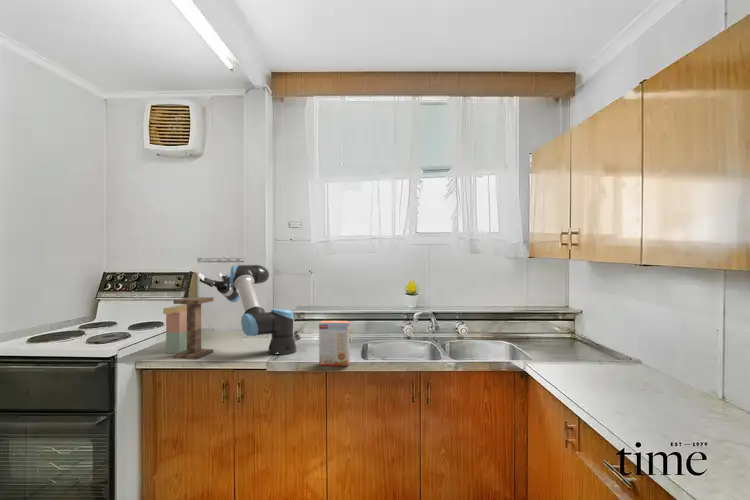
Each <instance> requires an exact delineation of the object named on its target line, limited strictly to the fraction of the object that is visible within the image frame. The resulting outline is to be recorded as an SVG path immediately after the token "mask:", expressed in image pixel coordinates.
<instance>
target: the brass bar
mask: <svg viewBox="0 0 750 500" xmlns="http://www.w3.org/2000/svg"><path fill="white" fill-rule="evenodd" d="M162 309H163V311H162V314H163V315H166V314H173V313H177V312H182V311H186V310H187V304H177V305H173V306H169V307H164V308H162Z"/></svg>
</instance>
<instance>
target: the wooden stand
mask: <svg viewBox="0 0 750 500" xmlns="http://www.w3.org/2000/svg"><path fill="white" fill-rule="evenodd" d="M211 302H214V297H213V296H212V297H210V296H209V297H208V296H207V297H203V296H201V297H200V296H199V297H198V296H195V297H194V296H189V297H184V298H177V299H173V302H172V303H173V305H183V304H187V350H185V351H183V352H180V353H174V354H173V355H172V356H173V359H187V358H188V359H189V360H199V359H201V358H204V357H206V356H208V355H210V354H212V353H214V349H212V348H211V349H207V348H202V305H203V304H207V303H211ZM188 359H187V360H188Z"/></svg>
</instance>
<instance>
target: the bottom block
mask: <svg viewBox="0 0 750 500" xmlns="http://www.w3.org/2000/svg"><path fill="white" fill-rule="evenodd" d="M185 350H187V331H185V332H181V333H166V332H165V353H166V354H177V353H180V352H183V351H185Z"/></svg>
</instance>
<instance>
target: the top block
mask: <svg viewBox="0 0 750 500" xmlns="http://www.w3.org/2000/svg"><path fill="white" fill-rule="evenodd" d="M165 317H166V318H165V334H166V333H181V332H185V331H187V310H186V311H182V312H177V313H173V314H165Z"/></svg>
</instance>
